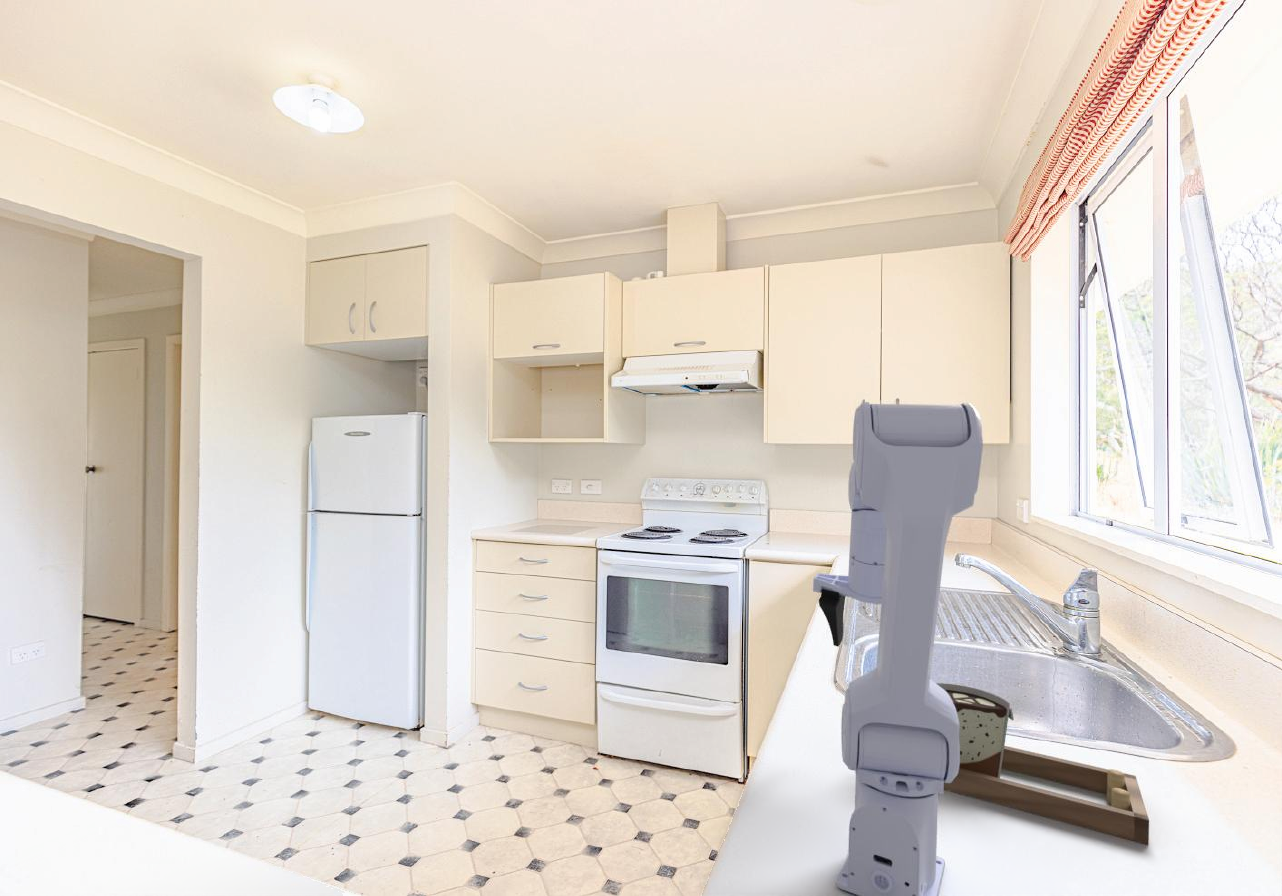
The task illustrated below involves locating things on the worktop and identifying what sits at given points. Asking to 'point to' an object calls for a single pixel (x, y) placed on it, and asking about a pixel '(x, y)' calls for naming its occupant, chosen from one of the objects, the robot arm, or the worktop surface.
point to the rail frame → (1120, 788)
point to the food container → (980, 728)
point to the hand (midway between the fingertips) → (866, 650)
